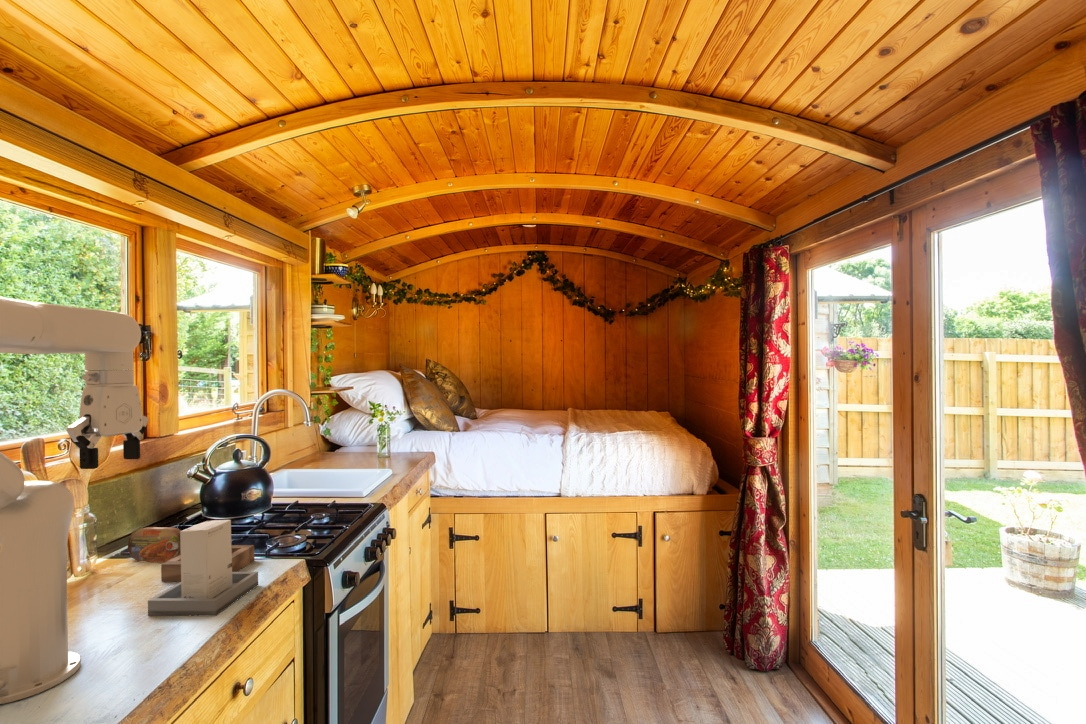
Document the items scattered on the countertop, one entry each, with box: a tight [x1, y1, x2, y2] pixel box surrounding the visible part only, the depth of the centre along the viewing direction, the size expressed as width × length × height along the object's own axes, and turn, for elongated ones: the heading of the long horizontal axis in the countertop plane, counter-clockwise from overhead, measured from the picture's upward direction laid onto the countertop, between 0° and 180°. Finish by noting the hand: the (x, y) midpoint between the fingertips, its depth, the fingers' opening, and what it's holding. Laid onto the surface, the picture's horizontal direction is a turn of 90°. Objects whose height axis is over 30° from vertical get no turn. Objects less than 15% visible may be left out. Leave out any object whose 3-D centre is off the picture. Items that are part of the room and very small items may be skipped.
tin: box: [127, 526, 182, 563], centre depth 132 cm, size 15×3×8 cm, turn 82°
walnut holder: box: [160, 544, 255, 582], centre depth 124 cm, size 12×14×4 cm
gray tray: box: [147, 571, 259, 617], centre depth 109 cm, size 14×14×3 cm
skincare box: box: [180, 519, 232, 598], centre depth 109 cm, size 8×6×15 cm
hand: (111, 463), depth 103 cm, fingers open, 9 cm apart
